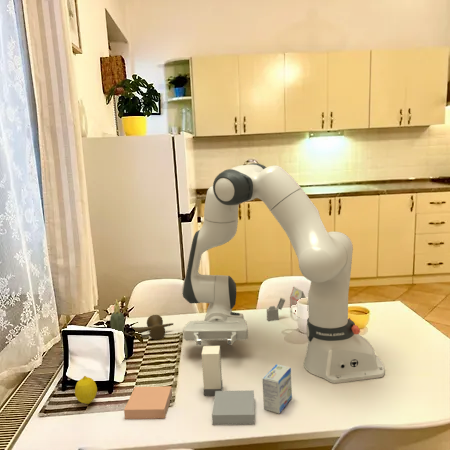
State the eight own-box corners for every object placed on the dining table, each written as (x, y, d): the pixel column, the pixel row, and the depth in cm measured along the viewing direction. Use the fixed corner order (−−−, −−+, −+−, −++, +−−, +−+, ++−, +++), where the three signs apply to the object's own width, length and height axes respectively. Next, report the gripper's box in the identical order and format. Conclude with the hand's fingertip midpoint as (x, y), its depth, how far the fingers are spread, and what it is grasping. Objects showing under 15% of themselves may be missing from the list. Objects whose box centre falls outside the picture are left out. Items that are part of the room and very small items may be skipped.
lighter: (268, 321, 156) (267, 301, 154) (266, 319, 157) (266, 299, 156) (286, 318, 157) (285, 298, 156) (284, 316, 159) (283, 297, 158)
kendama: (118, 336, 151) (172, 325, 156) (118, 348, 142) (176, 337, 147) (115, 321, 150) (170, 311, 155) (116, 332, 141) (174, 321, 146)
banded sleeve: (222, 386, 115) (220, 345, 112) (221, 396, 110) (219, 354, 108) (205, 386, 115) (203, 345, 113) (203, 396, 110) (201, 354, 108)
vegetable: (124, 363, 130) (118, 303, 126) (111, 363, 130) (105, 302, 127) (130, 356, 134) (124, 298, 130) (118, 356, 135) (111, 297, 131)
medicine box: (279, 414, 101) (278, 382, 99) (263, 409, 103) (261, 377, 102) (292, 397, 108) (291, 367, 106) (276, 393, 110) (275, 363, 108)
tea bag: (298, 309, 165) (297, 285, 164) (307, 315, 159) (307, 290, 157) (290, 311, 164) (289, 287, 162) (299, 317, 158) (298, 292, 156)
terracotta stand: (172, 394, 112) (171, 386, 111) (164, 418, 102) (164, 409, 101) (135, 395, 112) (135, 386, 112) (124, 418, 103) (124, 409, 102)
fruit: (74, 402, 111) (71, 374, 109) (96, 395, 113) (92, 368, 112) (78, 412, 106) (75, 384, 105) (100, 405, 109) (97, 377, 107)
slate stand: (254, 399, 108) (253, 390, 107) (254, 424, 98) (254, 414, 98) (215, 399, 108) (215, 390, 108) (212, 424, 99) (212, 415, 98)
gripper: (185, 314, 137) (178, 332, 123) (247, 313, 135) (247, 332, 122) (186, 332, 138) (180, 352, 124) (248, 331, 137) (248, 352, 123)
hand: (214, 342), depth 123 cm, fingers open, 8 cm apart
